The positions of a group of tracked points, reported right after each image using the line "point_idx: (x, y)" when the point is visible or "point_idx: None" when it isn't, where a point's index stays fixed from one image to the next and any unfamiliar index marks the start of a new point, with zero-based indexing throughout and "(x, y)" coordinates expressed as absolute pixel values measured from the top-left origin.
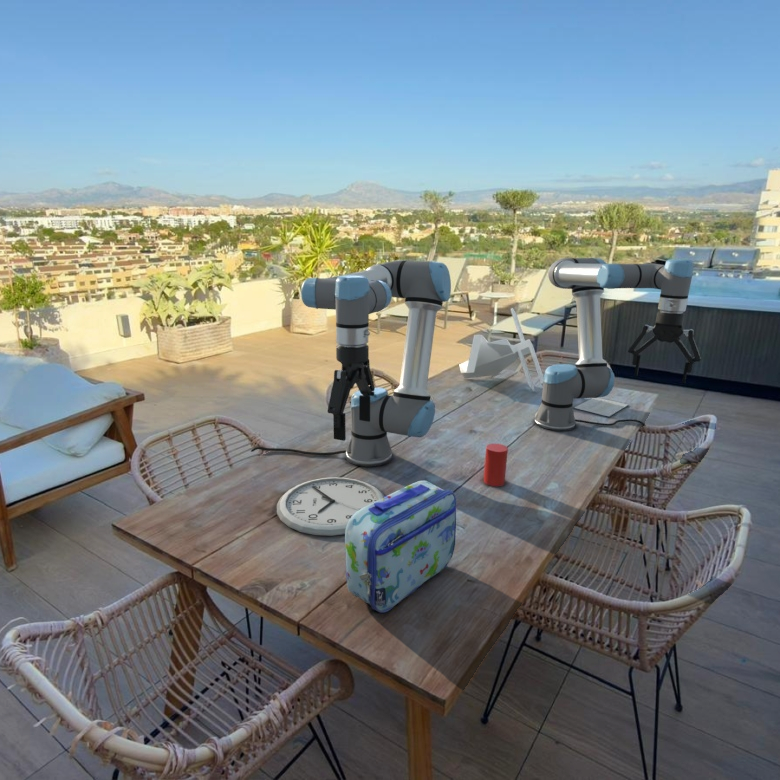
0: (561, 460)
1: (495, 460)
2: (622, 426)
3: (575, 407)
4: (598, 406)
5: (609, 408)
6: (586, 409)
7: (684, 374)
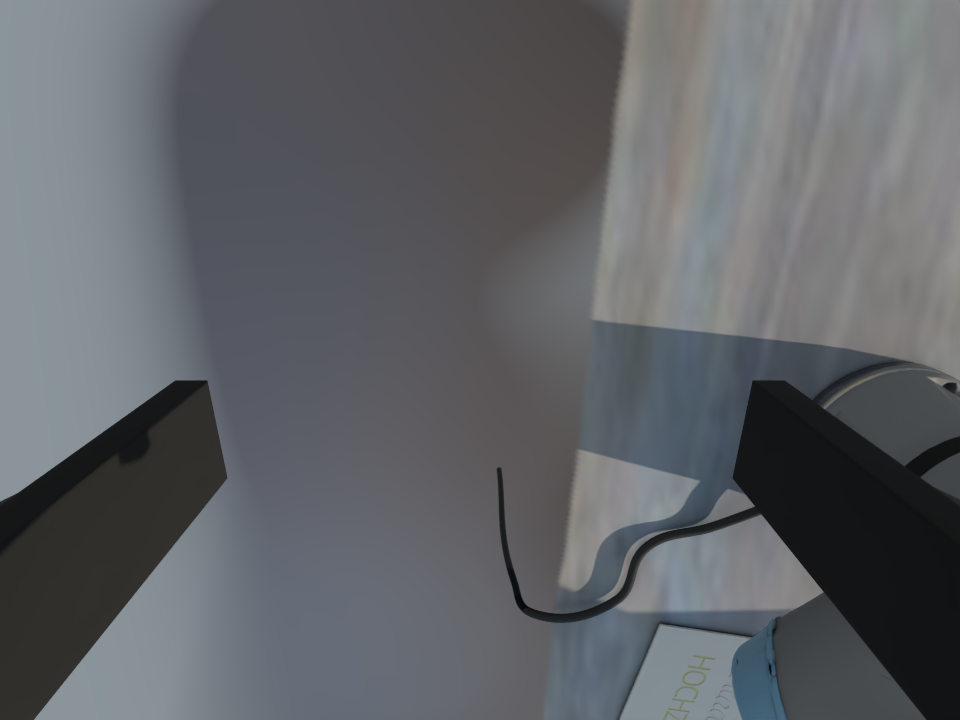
0: (833, 8)
1: None
2: (601, 560)
3: None
4: (705, 697)
5: (664, 698)
6: None
7: (117, 439)
